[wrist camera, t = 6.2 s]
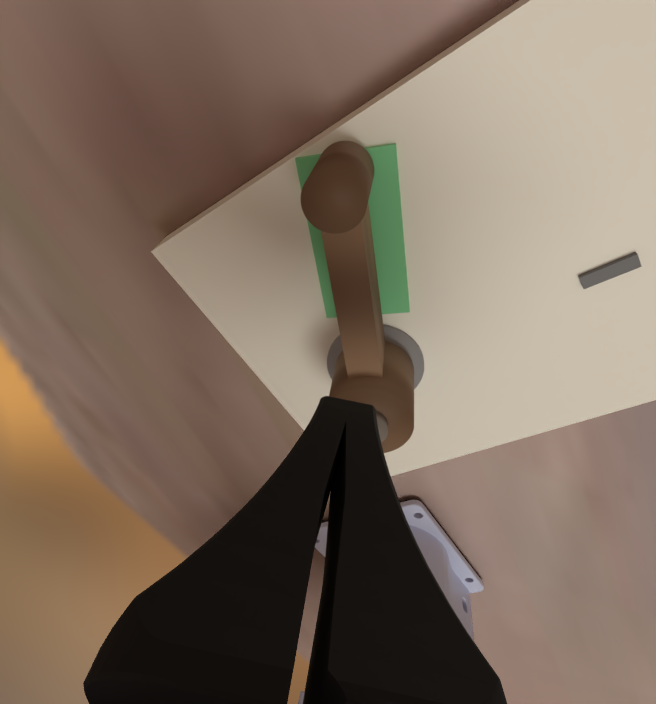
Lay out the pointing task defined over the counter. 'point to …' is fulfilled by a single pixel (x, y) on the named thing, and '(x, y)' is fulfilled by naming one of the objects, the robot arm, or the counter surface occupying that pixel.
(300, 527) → the robot arm
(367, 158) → the wooden crank handle
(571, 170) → the dial board
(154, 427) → the counter surface
